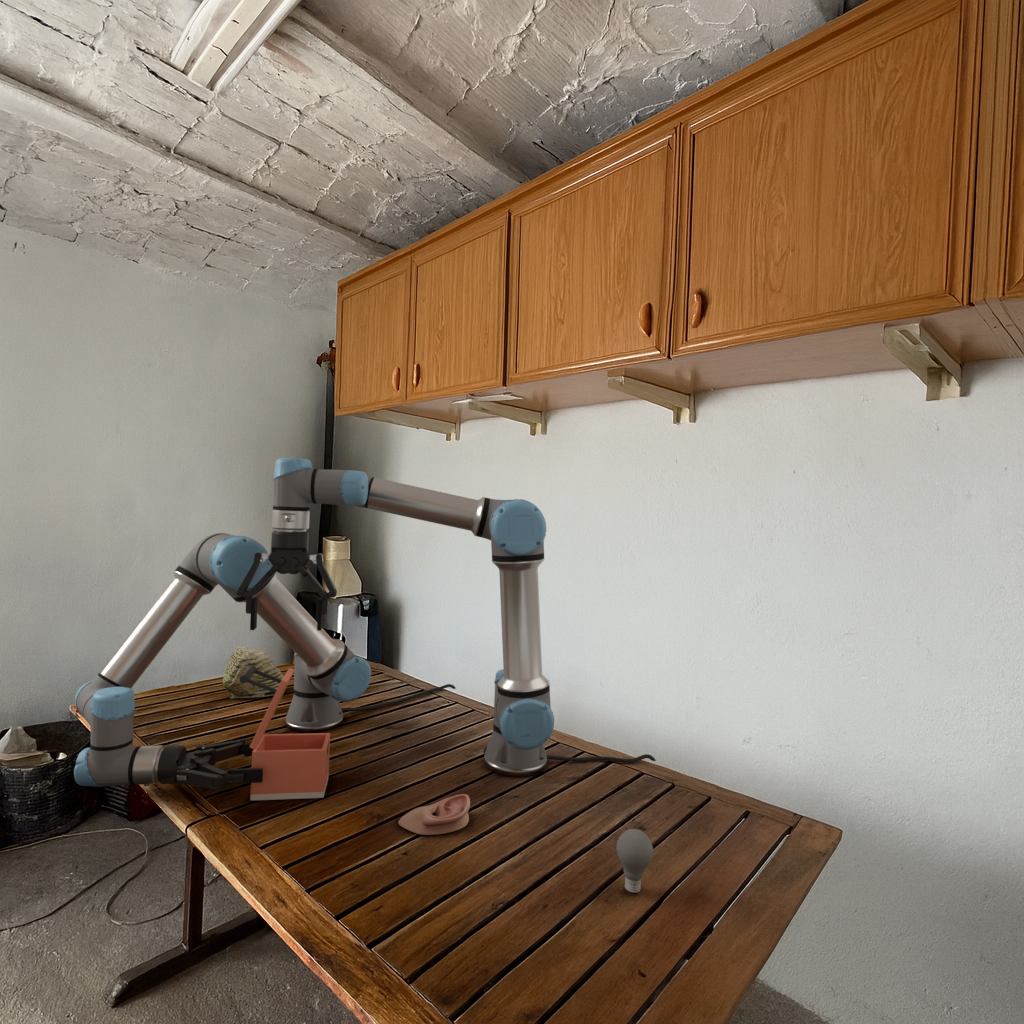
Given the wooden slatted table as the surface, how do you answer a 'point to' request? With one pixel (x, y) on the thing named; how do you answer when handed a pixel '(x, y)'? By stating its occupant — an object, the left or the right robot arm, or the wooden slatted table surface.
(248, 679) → the lid
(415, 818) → the anatomical model
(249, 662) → the fossil
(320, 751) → the chest
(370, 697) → the wooden slatted table surface
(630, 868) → the light bulb
